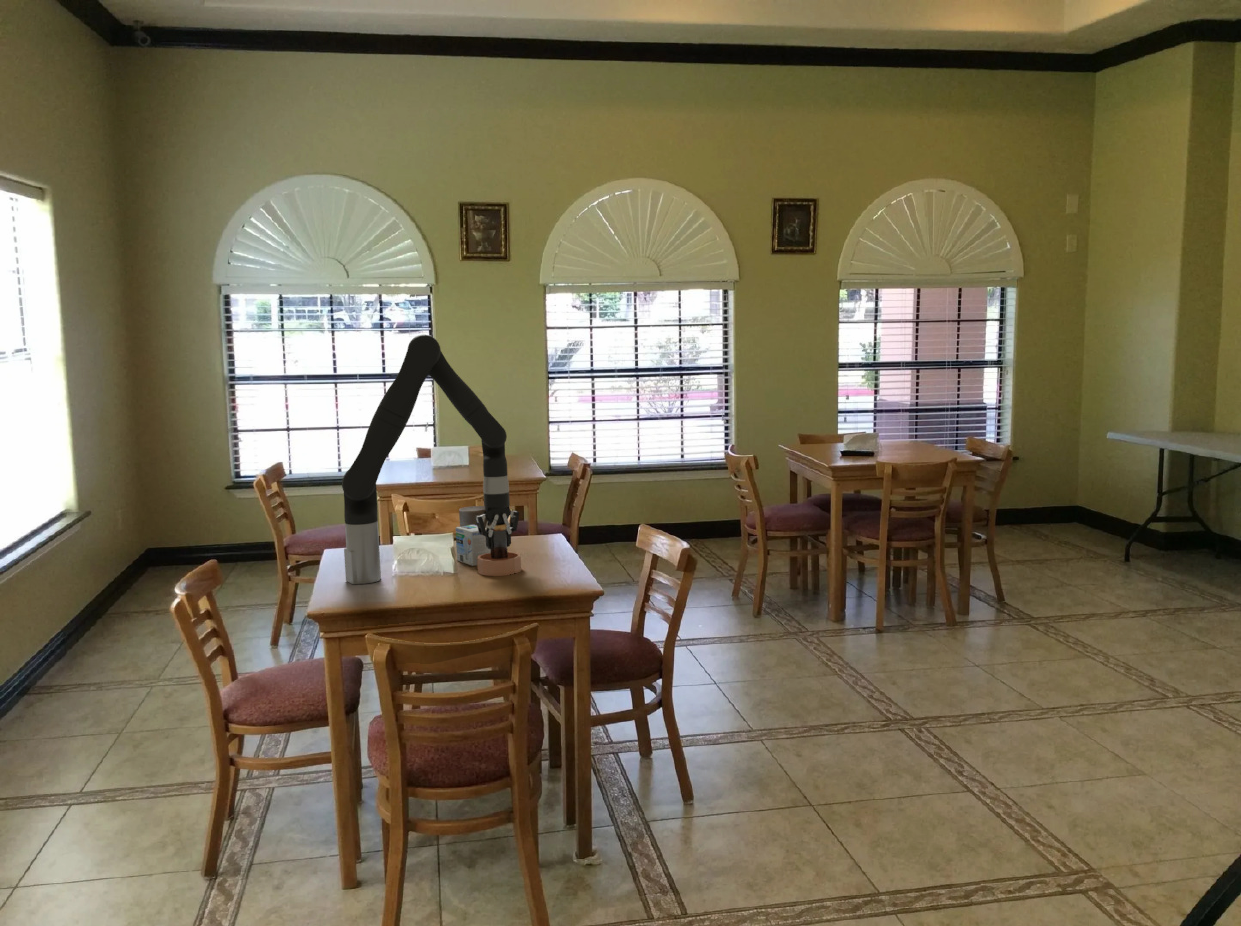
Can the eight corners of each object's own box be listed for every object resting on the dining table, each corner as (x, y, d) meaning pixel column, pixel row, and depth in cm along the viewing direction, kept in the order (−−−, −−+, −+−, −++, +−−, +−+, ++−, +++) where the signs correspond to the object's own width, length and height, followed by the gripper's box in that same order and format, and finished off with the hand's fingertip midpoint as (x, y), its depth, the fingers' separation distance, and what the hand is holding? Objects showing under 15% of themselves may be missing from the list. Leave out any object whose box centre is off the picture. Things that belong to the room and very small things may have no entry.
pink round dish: (490, 577, 293) (489, 562, 292) (470, 570, 303) (470, 555, 303) (528, 571, 300) (528, 556, 299) (508, 564, 310) (507, 549, 310)
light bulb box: (456, 560, 318) (454, 526, 316) (475, 557, 322) (473, 524, 320) (472, 566, 309) (471, 531, 308) (492, 562, 313) (490, 528, 312)
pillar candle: (495, 546, 338) (493, 502, 336) (482, 552, 328) (480, 506, 327) (468, 546, 340) (466, 502, 339) (455, 551, 331) (453, 506, 330)
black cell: (495, 559, 298) (494, 526, 296) (487, 556, 302) (486, 523, 300) (510, 557, 300) (509, 523, 299) (502, 554, 304) (501, 521, 303)
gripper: (480, 495, 292) (482, 553, 294) (523, 489, 300) (526, 546, 302) (468, 492, 298) (471, 549, 300) (511, 487, 306) (514, 542, 308)
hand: (498, 547), depth 301 cm, fingers closed on black cell, 5 cm apart
